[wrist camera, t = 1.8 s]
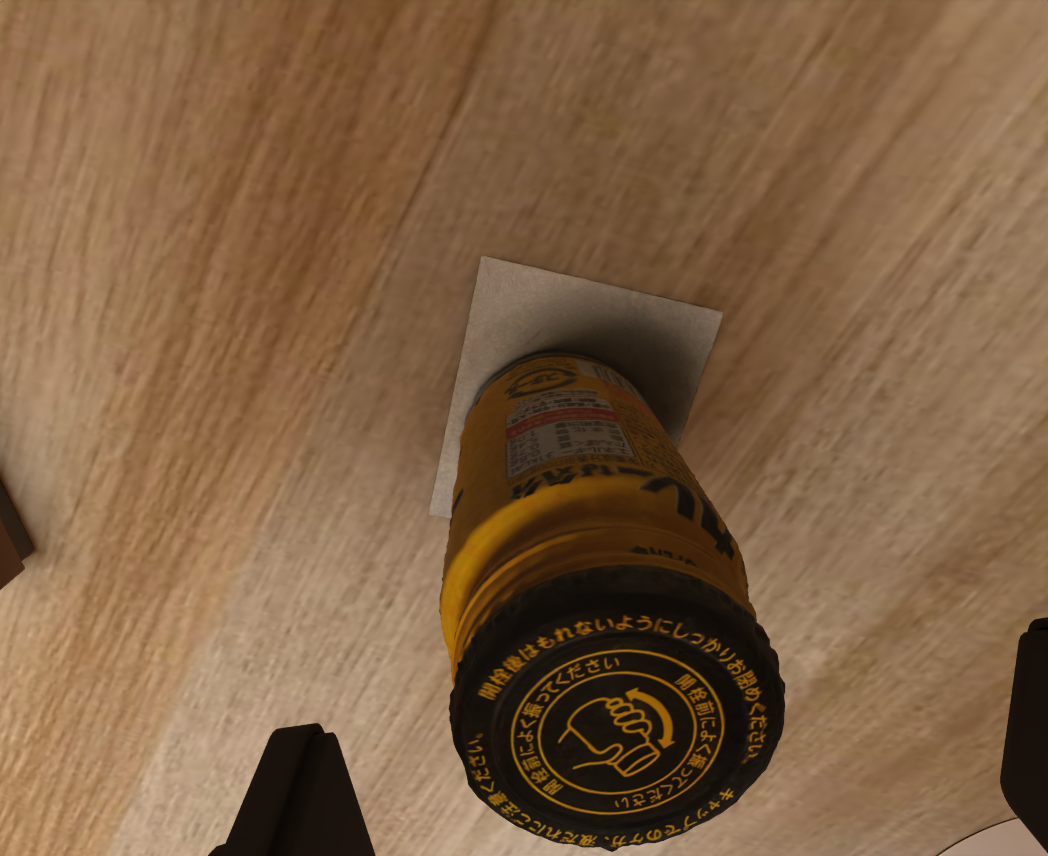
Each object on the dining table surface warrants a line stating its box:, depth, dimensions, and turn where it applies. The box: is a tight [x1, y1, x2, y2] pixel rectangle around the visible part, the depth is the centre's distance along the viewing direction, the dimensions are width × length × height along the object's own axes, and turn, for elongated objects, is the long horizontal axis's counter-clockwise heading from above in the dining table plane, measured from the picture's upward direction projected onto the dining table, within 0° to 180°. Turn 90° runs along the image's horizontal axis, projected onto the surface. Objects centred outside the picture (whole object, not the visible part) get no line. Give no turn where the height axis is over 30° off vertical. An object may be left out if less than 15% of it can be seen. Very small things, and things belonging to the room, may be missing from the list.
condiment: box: [429, 256, 785, 852], centre depth 15 cm, size 7×8×12 cm
